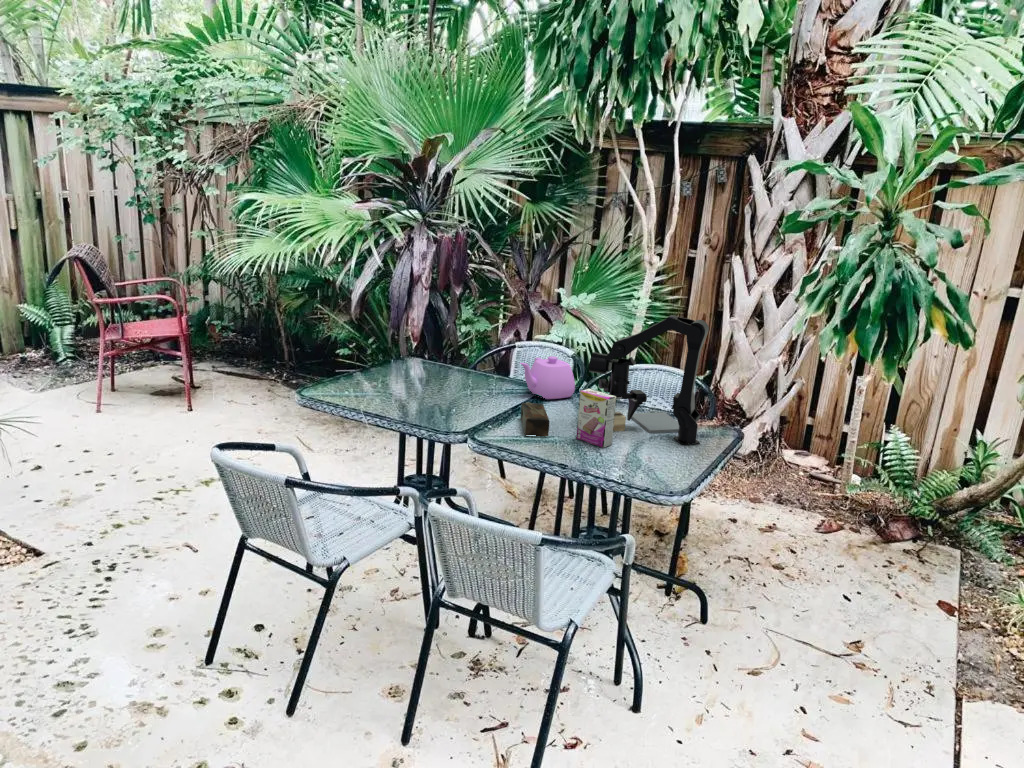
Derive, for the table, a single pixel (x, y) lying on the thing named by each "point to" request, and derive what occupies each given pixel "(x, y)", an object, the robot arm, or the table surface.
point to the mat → (656, 422)
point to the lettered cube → (619, 422)
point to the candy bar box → (596, 417)
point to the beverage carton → (534, 419)
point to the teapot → (550, 378)
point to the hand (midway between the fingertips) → (615, 421)
